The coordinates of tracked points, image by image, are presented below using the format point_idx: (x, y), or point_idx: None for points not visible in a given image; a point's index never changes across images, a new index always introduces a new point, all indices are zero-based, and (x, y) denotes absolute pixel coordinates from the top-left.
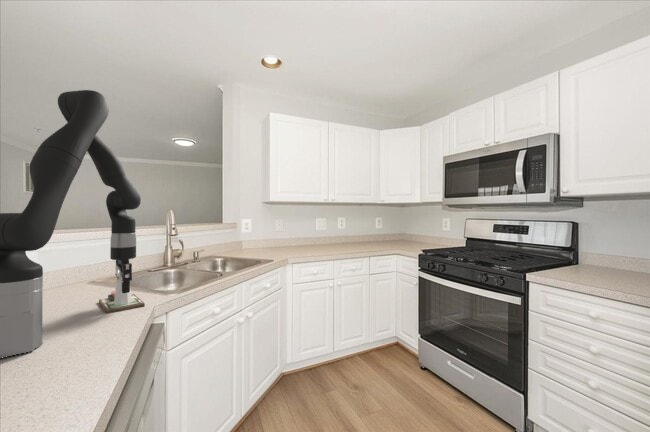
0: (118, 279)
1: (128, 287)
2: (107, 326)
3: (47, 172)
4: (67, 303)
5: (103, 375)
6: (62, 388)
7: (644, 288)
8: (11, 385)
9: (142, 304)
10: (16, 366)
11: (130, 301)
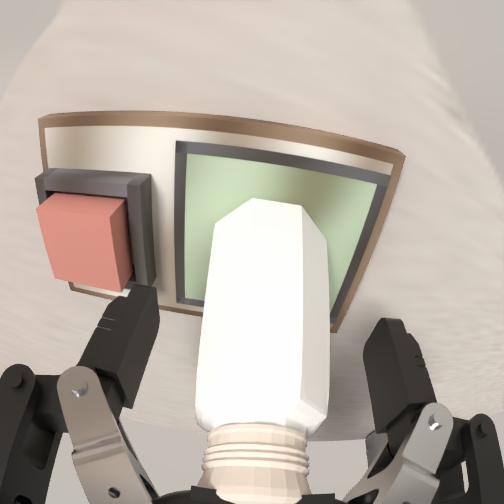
0: (133, 400)
1: (424, 365)
2: (474, 340)
3: None
4: (45, 335)
5: None
6: None
7: None
8: (500, 411)
9: (400, 168)
10: None
11: (311, 222)
